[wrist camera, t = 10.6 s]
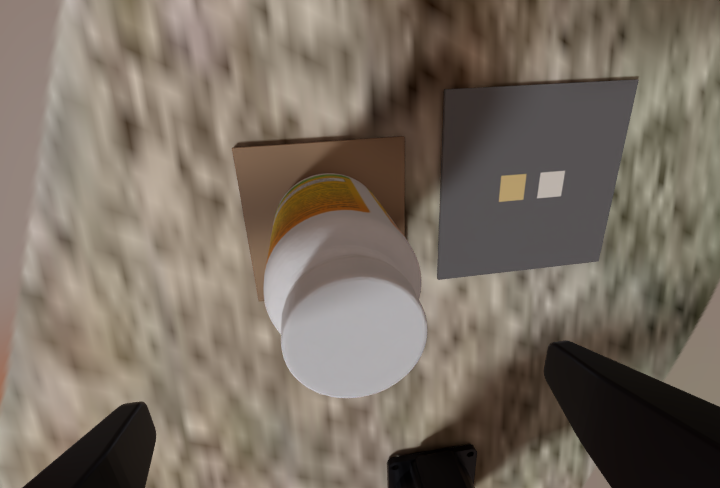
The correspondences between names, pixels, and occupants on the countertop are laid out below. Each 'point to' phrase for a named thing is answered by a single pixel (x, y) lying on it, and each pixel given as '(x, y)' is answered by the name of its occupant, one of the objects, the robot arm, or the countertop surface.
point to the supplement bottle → (343, 289)
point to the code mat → (529, 174)
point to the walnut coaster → (301, 160)
